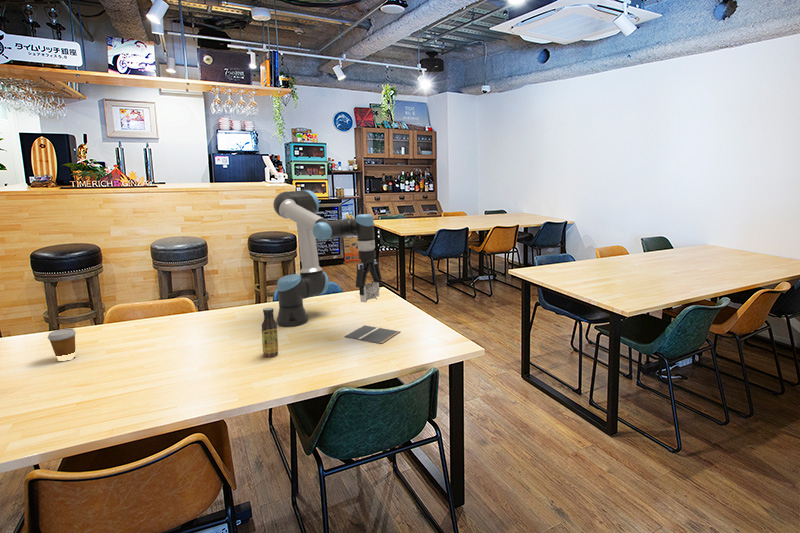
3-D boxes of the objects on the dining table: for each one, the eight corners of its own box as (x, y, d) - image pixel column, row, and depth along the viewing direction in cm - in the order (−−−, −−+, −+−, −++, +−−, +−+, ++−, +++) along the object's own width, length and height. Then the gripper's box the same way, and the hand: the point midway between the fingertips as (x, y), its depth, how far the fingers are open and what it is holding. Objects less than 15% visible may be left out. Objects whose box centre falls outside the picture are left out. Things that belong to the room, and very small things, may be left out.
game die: (374, 308, 204) (379, 293, 197) (356, 302, 203) (360, 287, 197) (378, 294, 210) (383, 279, 204) (361, 288, 210) (365, 274, 203)
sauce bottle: (264, 359, 184) (260, 312, 180) (261, 353, 190) (257, 308, 186) (281, 355, 187) (276, 309, 183) (277, 350, 193) (273, 305, 189)
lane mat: (344, 337, 206) (344, 336, 206) (364, 326, 219) (364, 325, 219) (382, 344, 196) (382, 343, 196) (400, 332, 210) (400, 331, 209)
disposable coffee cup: (85, 355, 194) (80, 329, 192) (63, 364, 185) (57, 336, 183) (69, 353, 197) (64, 327, 195) (47, 362, 188) (41, 334, 186)
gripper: (359, 254, 189) (362, 306, 193) (387, 246, 207) (390, 293, 211) (344, 253, 192) (348, 304, 197) (373, 245, 211) (376, 292, 215)
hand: (370, 299), depth 204 cm, fingers closed on game die, 9 cm apart
